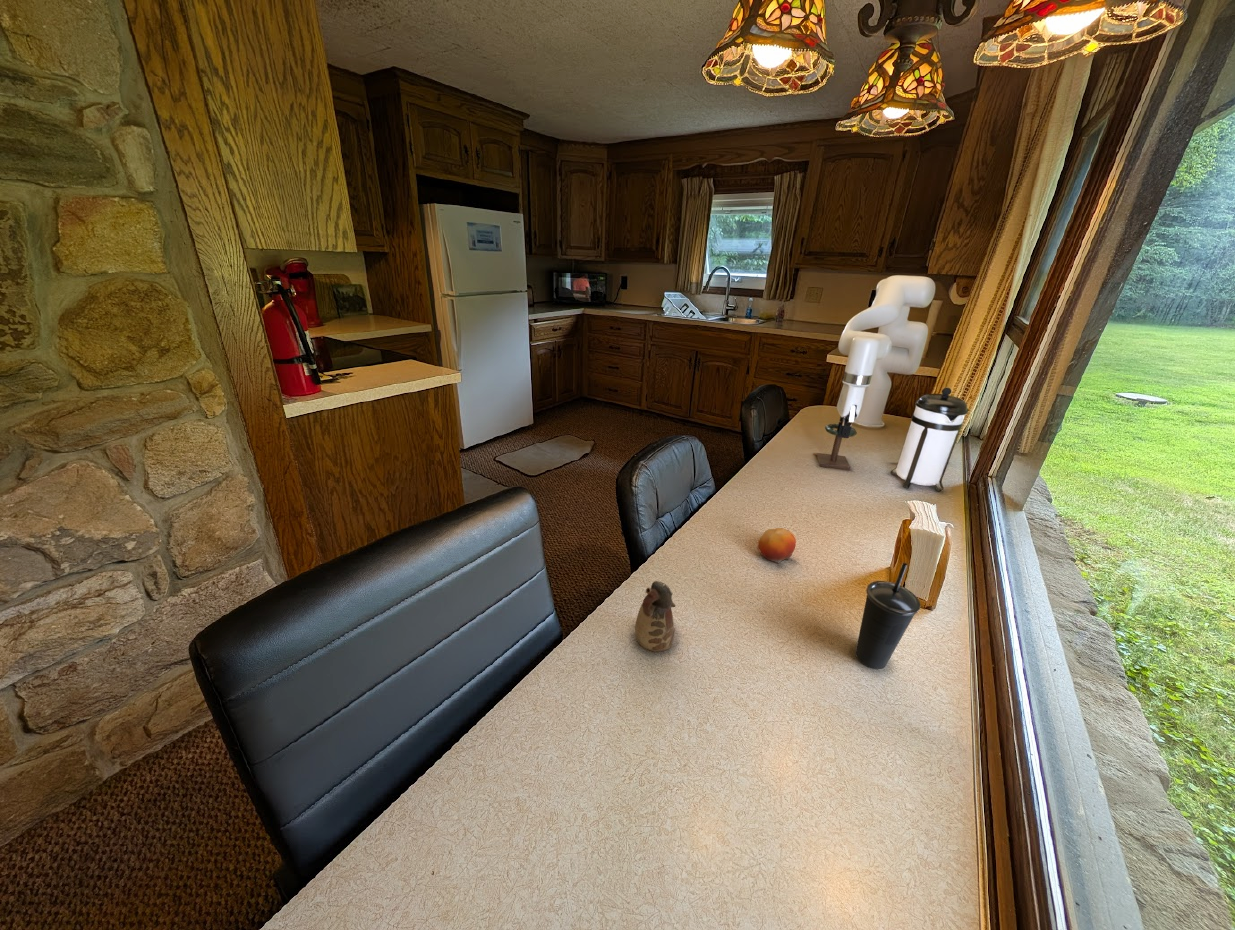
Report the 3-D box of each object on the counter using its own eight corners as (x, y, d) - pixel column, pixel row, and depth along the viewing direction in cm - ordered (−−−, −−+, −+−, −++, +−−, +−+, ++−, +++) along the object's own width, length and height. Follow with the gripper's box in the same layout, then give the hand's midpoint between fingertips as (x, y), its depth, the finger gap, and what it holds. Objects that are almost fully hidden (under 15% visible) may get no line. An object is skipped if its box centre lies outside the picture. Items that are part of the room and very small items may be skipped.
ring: (823, 426, 154) (824, 421, 153) (852, 429, 152) (853, 425, 151) (827, 435, 146) (828, 430, 145) (858, 439, 144) (859, 434, 143)
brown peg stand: (816, 455, 159) (824, 422, 153) (844, 459, 157) (853, 425, 151) (819, 466, 151) (828, 431, 145) (849, 470, 149) (858, 435, 143)
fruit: (785, 569, 99) (775, 533, 99) (757, 568, 105) (748, 534, 106) (808, 558, 103) (799, 523, 103) (780, 557, 110) (771, 524, 110)
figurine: (682, 642, 81) (688, 589, 76) (648, 658, 78) (653, 603, 73) (659, 617, 87) (664, 565, 82) (627, 630, 84) (630, 577, 79)
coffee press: (955, 485, 141) (991, 390, 128) (928, 498, 133) (964, 398, 120) (898, 464, 154) (926, 376, 141) (871, 474, 146) (898, 382, 133)
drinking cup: (901, 658, 80) (939, 565, 71) (886, 684, 75) (925, 587, 66) (856, 634, 84) (886, 543, 76) (839, 656, 80) (870, 563, 71)
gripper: (839, 371, 145) (826, 426, 153) (848, 384, 132) (833, 443, 139) (864, 373, 144) (850, 428, 152) (876, 386, 130) (860, 446, 138)
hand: (842, 435), depth 145 cm, fingers closed on ring, 2 cm apart
